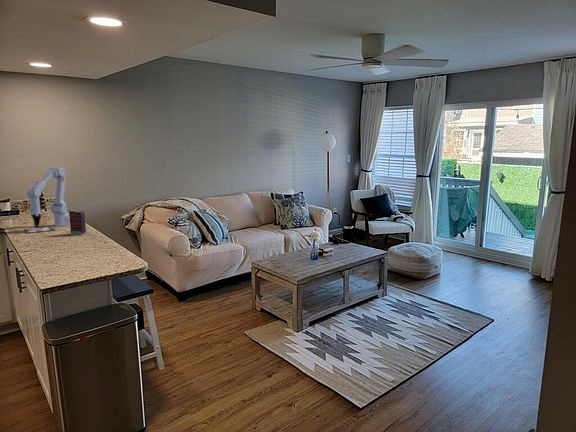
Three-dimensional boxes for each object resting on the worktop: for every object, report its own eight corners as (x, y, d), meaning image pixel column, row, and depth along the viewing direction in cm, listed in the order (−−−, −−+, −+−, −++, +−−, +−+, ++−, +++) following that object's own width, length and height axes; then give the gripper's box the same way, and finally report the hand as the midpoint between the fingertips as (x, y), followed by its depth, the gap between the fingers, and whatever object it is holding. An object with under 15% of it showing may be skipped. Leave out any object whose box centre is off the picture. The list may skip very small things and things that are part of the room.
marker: (39, 227, 285) (38, 217, 284) (39, 228, 283) (38, 218, 282) (34, 228, 283) (33, 218, 282) (34, 228, 281) (33, 219, 280)
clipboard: (52, 227, 295) (52, 225, 294) (55, 230, 284) (55, 228, 284) (23, 230, 284) (23, 228, 283) (25, 233, 273) (25, 231, 273)
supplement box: (86, 233, 277) (84, 210, 274) (82, 234, 272) (80, 212, 270) (74, 232, 278) (73, 210, 275) (70, 234, 273) (68, 211, 270)
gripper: (27, 205, 284) (29, 223, 286) (29, 207, 272) (31, 227, 275) (38, 204, 288) (40, 222, 290) (41, 206, 277) (43, 225, 279)
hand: (36, 224), depth 283 cm, fingers closed on marker, 3 cm apart
